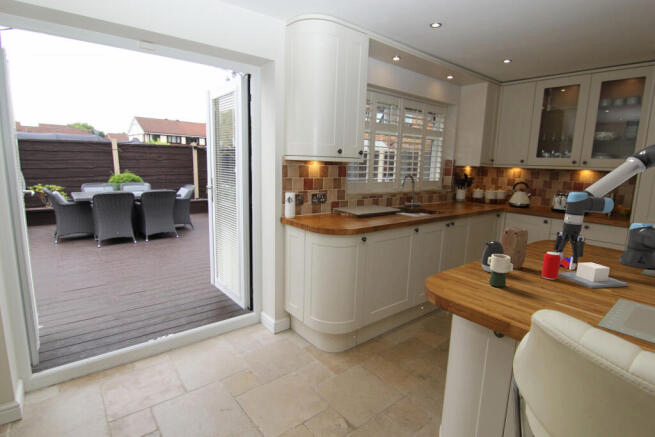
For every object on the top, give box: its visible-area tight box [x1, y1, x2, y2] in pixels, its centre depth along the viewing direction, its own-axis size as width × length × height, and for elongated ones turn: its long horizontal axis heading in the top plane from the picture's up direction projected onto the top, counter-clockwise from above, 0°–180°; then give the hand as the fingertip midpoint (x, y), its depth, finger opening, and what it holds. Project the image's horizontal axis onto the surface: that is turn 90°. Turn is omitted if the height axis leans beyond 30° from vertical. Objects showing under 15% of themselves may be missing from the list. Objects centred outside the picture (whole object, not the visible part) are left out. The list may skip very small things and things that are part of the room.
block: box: [500, 226, 529, 270], centre depth 165 cm, size 11×8×20 cm
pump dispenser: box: [480, 240, 504, 274], centre depth 156 cm, size 10×10×15 cm
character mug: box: [488, 254, 514, 288], centre depth 138 cm, size 11×7×13 cm, turn 30°
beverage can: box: [541, 251, 561, 281], centre depth 150 cm, size 6×6×12 cm
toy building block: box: [559, 255, 573, 270], centre depth 167 cm, size 4×4×8 cm
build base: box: [558, 262, 628, 289], centre depth 149 cm, size 20×16×7 cm
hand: (565, 266), depth 168 cm, fingers closed on toy building block, 7 cm apart
